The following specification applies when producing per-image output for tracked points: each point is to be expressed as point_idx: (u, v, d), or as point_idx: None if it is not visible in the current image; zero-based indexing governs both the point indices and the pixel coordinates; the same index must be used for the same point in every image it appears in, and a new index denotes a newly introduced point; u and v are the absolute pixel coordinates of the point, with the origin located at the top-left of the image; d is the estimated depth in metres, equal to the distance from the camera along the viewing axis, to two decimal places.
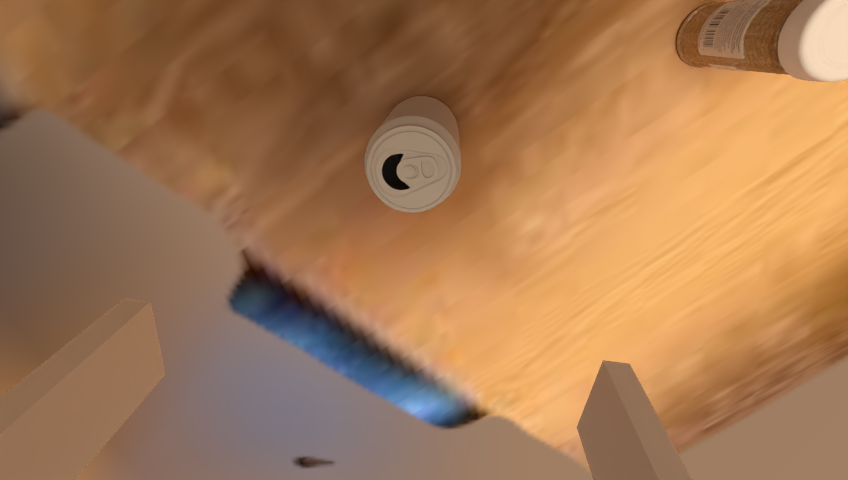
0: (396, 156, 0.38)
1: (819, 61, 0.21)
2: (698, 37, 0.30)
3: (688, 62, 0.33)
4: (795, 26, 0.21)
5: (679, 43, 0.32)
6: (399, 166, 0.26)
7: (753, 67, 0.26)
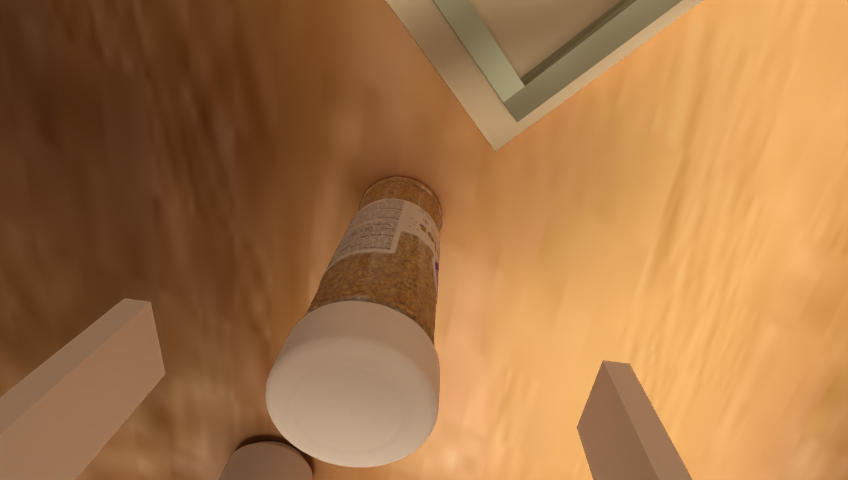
0: None
1: (357, 459, 0.11)
2: None
3: None
4: None
5: None
6: None
7: None
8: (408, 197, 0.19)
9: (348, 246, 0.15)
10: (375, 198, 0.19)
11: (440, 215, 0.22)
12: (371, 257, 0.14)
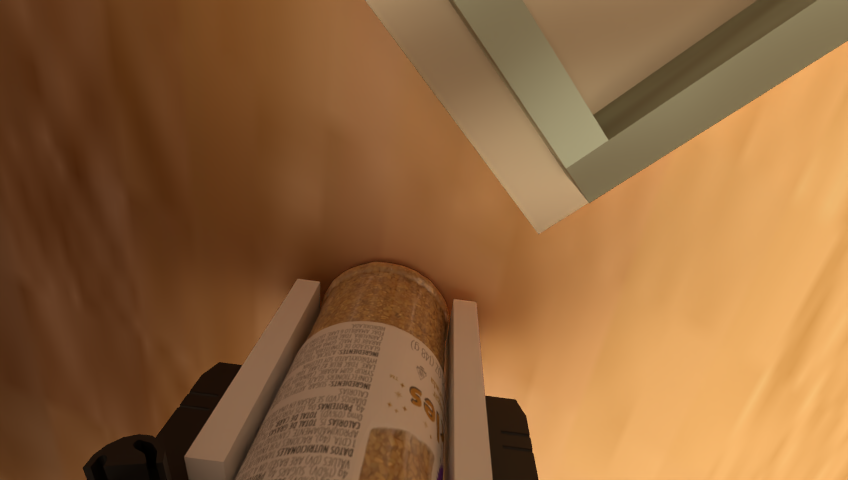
0: None
1: None
2: None
3: None
4: None
5: None
6: None
7: None
8: (393, 313, 0.12)
9: (258, 477, 0.07)
10: (338, 313, 0.12)
11: (446, 321, 0.14)
12: None
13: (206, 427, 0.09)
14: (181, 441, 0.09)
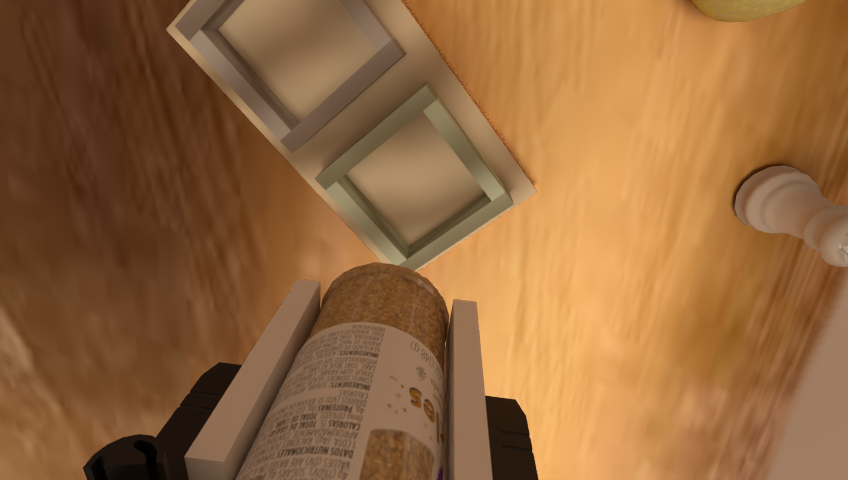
0: None
1: None
2: None
3: None
4: None
5: None
6: None
7: None
8: (393, 314, 0.12)
9: (258, 479, 0.07)
10: (338, 314, 0.12)
11: (446, 322, 0.14)
12: None
13: (206, 427, 0.09)
14: (181, 441, 0.09)
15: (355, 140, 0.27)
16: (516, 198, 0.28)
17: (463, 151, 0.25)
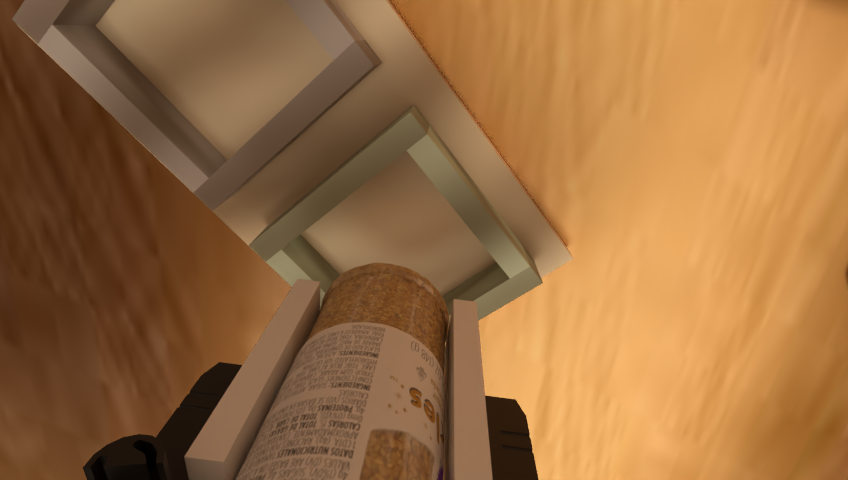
0: None
1: None
2: None
3: None
4: None
5: None
6: None
7: None
8: (393, 314, 0.12)
9: (258, 479, 0.07)
10: (338, 314, 0.12)
11: (446, 322, 0.14)
12: None
13: (206, 427, 0.09)
14: (181, 441, 0.09)
15: (311, 187, 0.19)
16: (543, 267, 0.20)
17: (468, 209, 0.17)
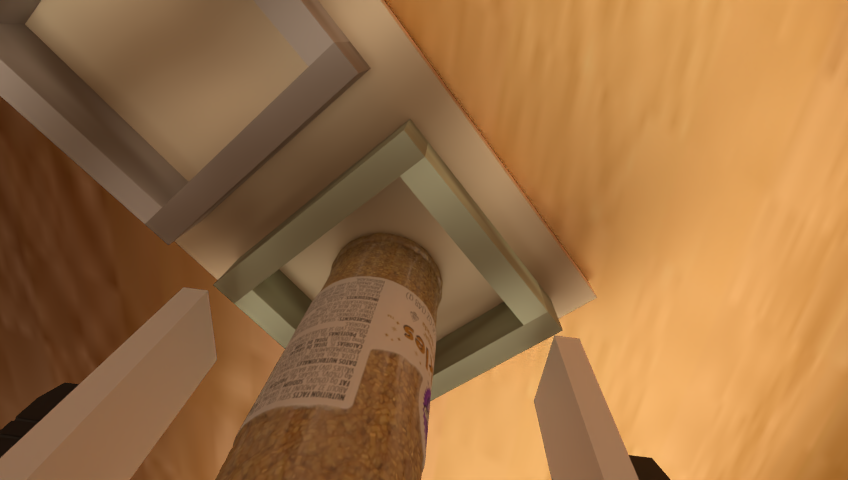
0: None
1: None
2: None
3: None
4: None
5: None
6: None
7: None
8: (392, 271, 0.14)
9: (282, 380, 0.09)
10: (346, 271, 0.14)
11: (439, 285, 0.16)
12: (309, 418, 0.08)
13: None
14: None
15: (288, 214, 0.16)
16: (561, 306, 0.17)
17: (475, 245, 0.14)
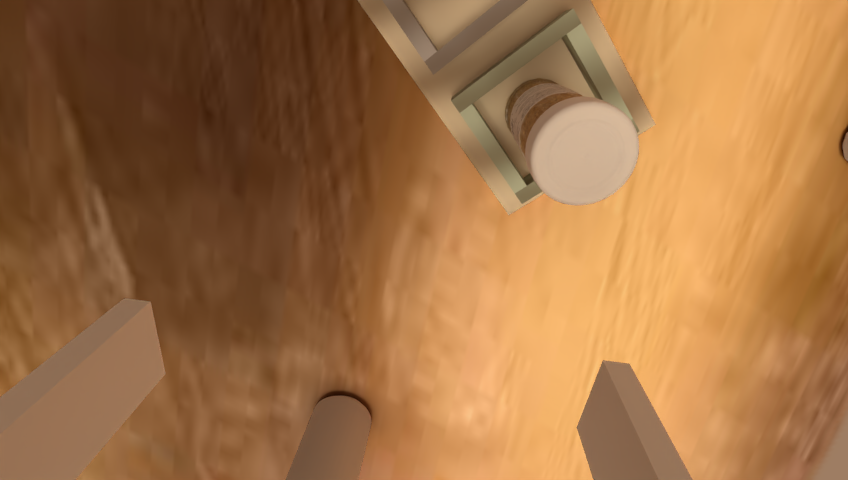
0: None
1: (579, 195, 0.19)
2: None
3: None
4: (534, 179, 0.19)
5: None
6: None
7: None
8: None
9: (542, 95, 0.22)
10: (533, 85, 0.27)
11: None
12: (567, 94, 0.21)
13: None
14: None
15: (487, 68, 0.29)
16: None
17: (599, 76, 0.27)
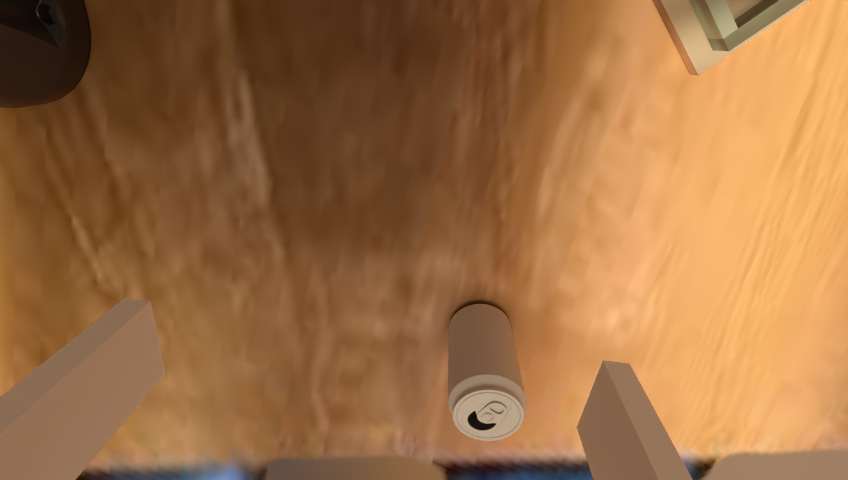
0: None
1: None
2: None
3: None
4: None
5: None
6: (478, 418, 0.34)
7: None
8: None
9: None
10: None
11: None
12: None
13: None
14: None
15: None
16: None
17: None
